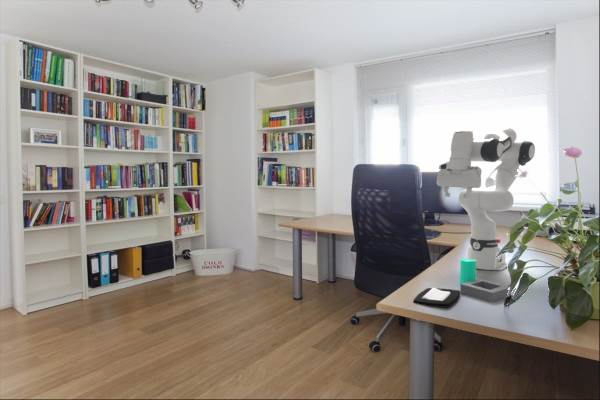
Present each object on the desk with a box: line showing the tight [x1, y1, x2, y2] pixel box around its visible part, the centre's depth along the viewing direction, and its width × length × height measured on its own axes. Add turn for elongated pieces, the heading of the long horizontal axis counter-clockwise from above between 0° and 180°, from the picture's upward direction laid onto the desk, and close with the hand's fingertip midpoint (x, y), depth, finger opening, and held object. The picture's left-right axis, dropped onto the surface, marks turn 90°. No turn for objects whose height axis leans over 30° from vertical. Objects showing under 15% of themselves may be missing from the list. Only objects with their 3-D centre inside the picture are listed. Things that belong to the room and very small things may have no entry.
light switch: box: [412, 287, 461, 308], centre depth 142 cm, size 20×3×14 cm
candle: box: [459, 256, 477, 285], centre depth 159 cm, size 6×6×12 cm
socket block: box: [459, 278, 509, 303], centre depth 147 cm, size 13×13×4 cm
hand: (456, 197), depth 168 cm, fingers open, 8 cm apart
